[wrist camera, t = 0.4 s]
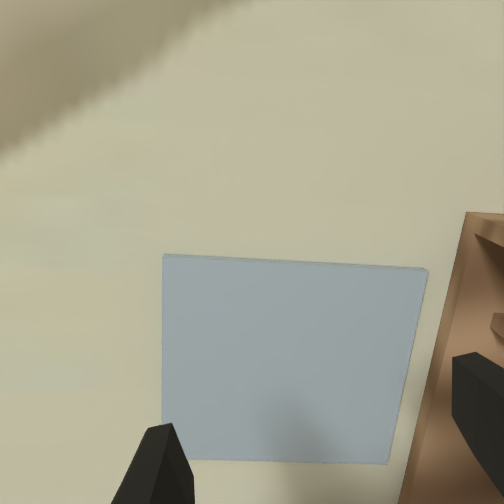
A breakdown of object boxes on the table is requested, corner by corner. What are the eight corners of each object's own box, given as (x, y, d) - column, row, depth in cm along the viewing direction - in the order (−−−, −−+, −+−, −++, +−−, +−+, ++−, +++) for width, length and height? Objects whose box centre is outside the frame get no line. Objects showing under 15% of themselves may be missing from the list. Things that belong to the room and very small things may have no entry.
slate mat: (384, 457, 24) (387, 464, 24) (163, 451, 23) (161, 458, 23) (424, 268, 21) (428, 271, 20) (164, 253, 20) (162, 257, 19)
